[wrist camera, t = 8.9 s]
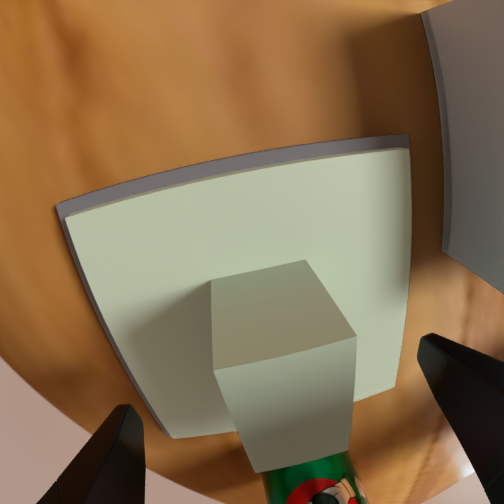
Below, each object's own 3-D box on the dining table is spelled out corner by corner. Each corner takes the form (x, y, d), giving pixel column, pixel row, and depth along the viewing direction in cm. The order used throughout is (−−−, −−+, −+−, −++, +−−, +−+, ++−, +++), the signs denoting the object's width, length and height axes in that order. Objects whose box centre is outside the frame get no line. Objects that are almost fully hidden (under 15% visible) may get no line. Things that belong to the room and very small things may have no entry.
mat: (402, 134, 9) (408, 135, 9) (391, 379, 14) (394, 383, 14) (60, 201, 9) (55, 204, 9) (166, 430, 14) (166, 436, 13)
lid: (399, 147, 9) (501, 170, 5) (389, 379, 14) (430, 446, 9) (72, 213, 9) (-9, 275, 4) (173, 429, 13) (170, 509, 9)
